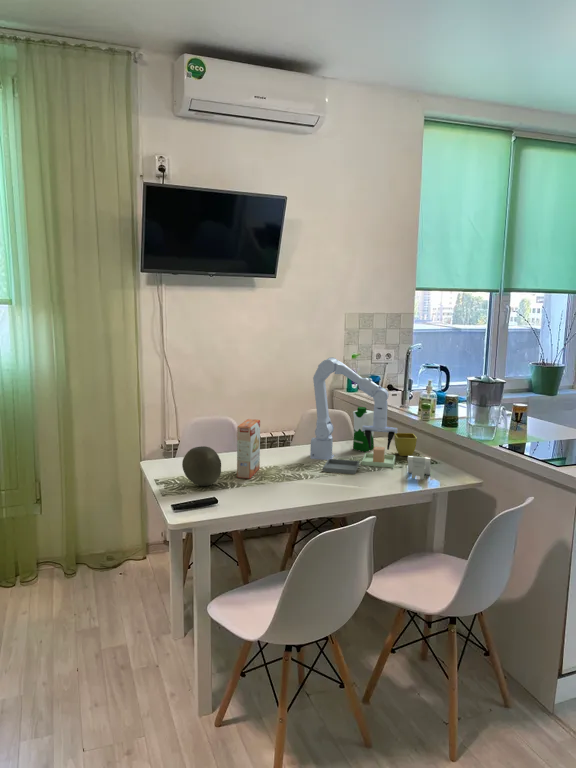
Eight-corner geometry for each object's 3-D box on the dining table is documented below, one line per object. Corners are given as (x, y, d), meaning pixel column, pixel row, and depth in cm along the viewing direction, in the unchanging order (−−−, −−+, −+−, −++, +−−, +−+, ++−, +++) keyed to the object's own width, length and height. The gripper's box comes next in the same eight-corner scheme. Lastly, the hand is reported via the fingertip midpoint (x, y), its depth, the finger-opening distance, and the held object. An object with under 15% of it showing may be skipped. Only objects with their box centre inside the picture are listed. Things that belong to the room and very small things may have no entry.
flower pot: (416, 457, 254) (417, 438, 253) (396, 457, 254) (397, 437, 253) (412, 452, 263) (413, 433, 262) (393, 452, 263) (394, 432, 262)
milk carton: (350, 449, 267) (351, 407, 264) (361, 445, 273) (362, 404, 270) (365, 453, 261) (366, 409, 258) (377, 449, 268) (378, 407, 264)
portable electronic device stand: (430, 474, 232) (431, 454, 230) (428, 480, 224) (429, 459, 223) (408, 472, 234) (409, 452, 233) (406, 478, 227) (407, 457, 226)
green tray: (361, 466, 241) (361, 461, 241) (365, 457, 254) (365, 452, 253) (393, 468, 238) (393, 463, 238) (395, 460, 251) (395, 455, 250)
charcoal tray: (322, 472, 232) (322, 467, 232) (328, 463, 245) (328, 458, 244) (354, 475, 229) (355, 470, 229) (359, 466, 242) (359, 461, 241)
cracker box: (251, 479, 224) (251, 426, 220) (236, 478, 225) (236, 426, 222) (260, 468, 237) (260, 419, 234) (246, 467, 239) (246, 418, 235)
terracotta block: (373, 463, 244) (373, 449, 243) (373, 460, 248) (374, 446, 247) (383, 463, 243) (384, 450, 242) (384, 460, 247) (384, 447, 246)
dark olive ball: (201, 477, 226) (201, 440, 223) (229, 484, 218) (228, 446, 215) (175, 487, 214) (174, 448, 212) (203, 495, 206) (202, 454, 204)
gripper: (361, 417, 241) (360, 449, 243) (397, 420, 237) (395, 452, 239) (363, 414, 247) (362, 445, 250) (398, 416, 244) (396, 447, 246)
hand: (379, 448), depth 245 cm, fingers open, 7 cm apart
